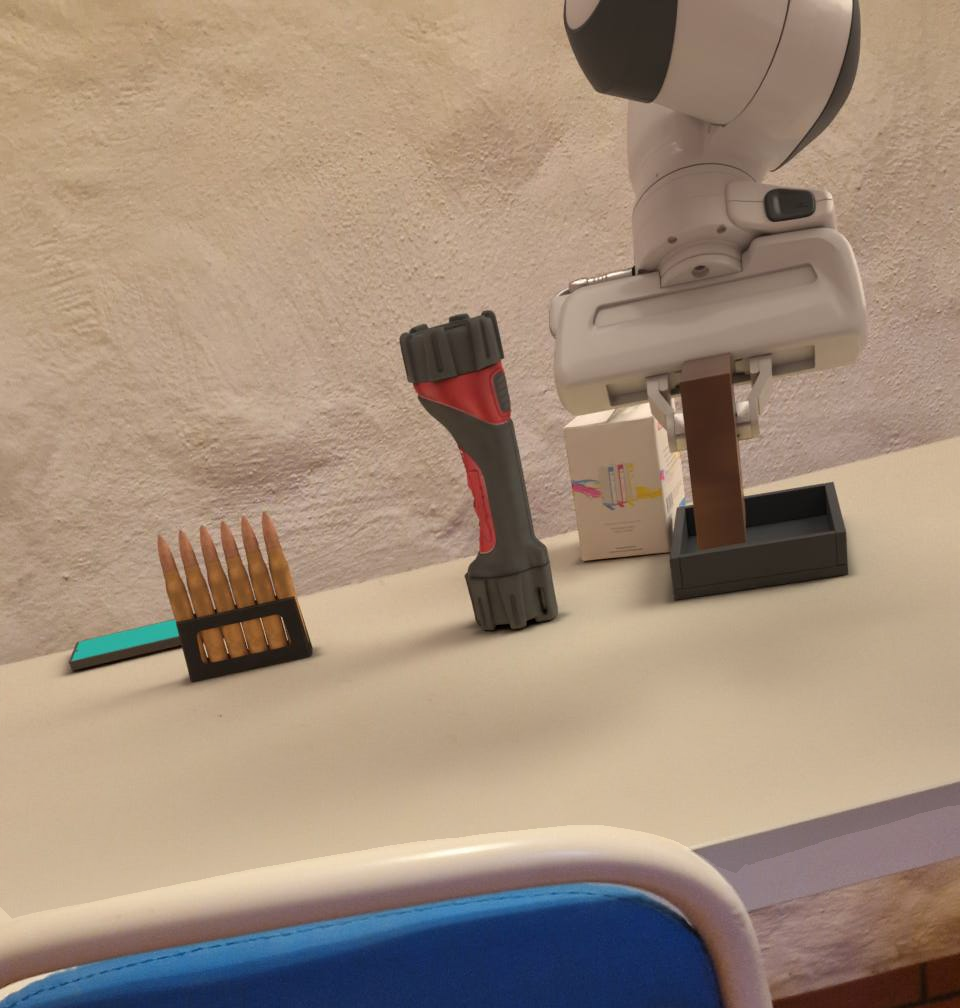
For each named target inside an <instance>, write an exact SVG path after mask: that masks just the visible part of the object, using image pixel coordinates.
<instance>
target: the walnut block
mask: <svg viewBox="0 0 960 1008" xmlns="http://www.w3.org/2000/svg"><path fill="white" fill-rule="evenodd" d="M680 392H681V397H680V400H681V407H682V408H681V409H682V413H683V419H684V428H685V436H686V445H687V450H686V454H687V462H688V463H687V464H688V472H689V478H690V479H689V480H690V488H691V497H692V505H693V507H694V516H695V525H696V534H697V543H698V550H705V549H712V548H718V547H724V546H730V545H736V544H742V543H746V517H745V502H744V496H745V494H744V493H745V492H744V491H745V490H744V482H743V480H744V479H743V472H742V471H743V469H742V461H741V450H740V441H738V434H737V426H736V413H735V403H736V396H735V386H734V385H733V374H732V364H731V354H730V353H726V354H721V355H716V356H711V357H706V358H700V359H695V360H690V361H685V362H683V368H682V373H681V378H680Z"/></svg>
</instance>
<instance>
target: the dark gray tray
mask: <svg viewBox="0 0 960 1008" xmlns="http://www.w3.org/2000/svg"><path fill="white" fill-rule="evenodd" d="M744 502H745V517H746V543H742V544H736V545H730V546H724V547H718V548H712V549H705V550H698V543H697V534H696V525H695V516H694V507H693V504H689V505H686V507H685V506H683V507H677V509H676V516H675V524H674V531H673V538H672V546H671V551H670V552H669V553H670V554H669V567H670V575H671V576H670V577H671V584H672V594H673V600H674V601H678V600H685V599H693V598H698V597H704V596H710V595H711V596H712V595H718V594H724V593H731V592H738V591H744V590H751V589H758V588H764V587H771V586H778V585H784V584H793V583H797V582H804V581H805V582H807V581H812V580H819V579H825V578H831V577H833V578H834V577H839V576H845V575H849V562H848V561H849V559H848V558H849V557H848V542H847V541H848V537H847V530H846V525H845V523H844V518H843V514H842V510H841V506H840V501H839V498H838V494H837V490H836V486H835V482H834V481H828V482H825V483H823V482H822V483H816V484H810V485H804V486H798V487H794V488H793V487H792V488H785V489H780V490H774V491H768V492H763V493H756V494H755V493H754V494H750V495H744Z"/></svg>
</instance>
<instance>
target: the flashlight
mask: <svg viewBox="0 0 960 1008" xmlns="http://www.w3.org/2000/svg"><path fill="white" fill-rule="evenodd" d="M398 341H399V346H400V352H401V356H402V361H403V366H404V370H405V374H406V380H407V382H408V383H410V384H412V387H413V389H414V392H415V393H416V394H417V400H418V402H419V403H420V404H421V407H423V409H424V410H425V411H426V412H427V413H428V414H429V415H430V416H431V417H432V418H433V419H434V420H436V421H437V422H438V423H439V424H440V425H442V426H443V427H444V428H445V429H446V430H447V431H448V433H449V434H450V435H451V437H452V438H453V440H454V441H455V443H456V445H457V448H458V450H459V454H460V456H461V462H462V463H463V466H464V469H465V473H466V482H467V487H468V488H469V490H470V491H471V494H472V497H473V503H472V507H473V509H474V511H475V513H476V516H477V518H478V520H479V521H478V526H479V533H478V534H479V537H478V541H479V547H478V553H477V555H476V557H475V558H474V559H473V560H472V561H471V562H470V563H469V564H468V567H467V572H466V573H464V579H465V583H466V587H467V591H468V594H469V598H470V601H471V602H470V603H471V606H472V610H473V615H474V619H475V623H477V624H478V625H480V627H481V628H482V629H483V630H485V631H495V630H496V629H497V625H509V626H510V628H511V629H512V630H518V629H522V628H525V627H527V622H528V621H530V620H533V619H534V620H535V622H536V623H541V622H547V621H551V620H554V618H556V617H557V616H558V614H559V608H558V607H559V606H558V601H557V597H556V591H555V585H554V578H553V572H552V567H551V566H552V565H551V561H550V556H549V550H548V547H547V546H546V544H544V543H543V542H542V541H541V540H539V539H538V537H536V533H535V528H534V523H533V517H532V513H531V507H530V502H529V496H528V491H527V485H526V480H525V475H524V469H523V465H522V460H521V459H522V458H521V454H520V453H521V452H520V449H519V445H518V439H517V434H516V430H515V424H514V421H513V419H512V418H511V417H512V406H511V405H512V402H511V396H510V394H509V393H510V392H509V386H508V381H507V376H506V373H505V369H504V367H503V363H502V360H503V359H504V360H505V353H504V348H503V344H502V338H501V333H500V328H499V323H498V320H497V316H496V313H495V312H494V311H493V310H489V309H485V310H482V311H481V313H480V314H479V315H476V316H474V317H470V315H469V314H468V313H466V312H463V313H459V314H455V315H450V316H449V317H448V322H446V323H443V324H438V325H434V326H432V327H429V326H428V324H427V323H421V324H418V325H415V326H413V327H411V328H410V329H409V330H408V332H407V331H405V332H403V333H401V334H400V336H399V340H398Z"/></svg>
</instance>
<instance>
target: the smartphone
mask: <svg viewBox="0 0 960 1008" xmlns="http://www.w3.org/2000/svg"><path fill="white" fill-rule="evenodd" d="M220 630H221V633H222V636H223V632H222V629H221V627H220ZM199 633H200V636H201V639H202V641H203V638H202V635H201V631H200V632H199ZM178 646H182V645H181V641H180V637H179V633H178V630H177V626H176V621H175V618H173V619H169V620H164V621H161V622H156V623H152V624H147V625H143V626H139V627H135V628H130V629H126V630H121V631H118V632H113V633H109V634H104V635H101V636H96V637H91V638H88V639H84V640H79V641H77V642H76V643H75V645H74V648H73V650H72V652H71V655H70V658H69V660H68V664H69V667H70V669H71V671H75V670H76V671H77V670H80V669H84V668H89V667H93V666H97V665H101V664H105V663H109V662H114V661H119V660H123V659H127V658H131V657H135V656H141V655H144V654H148V653H152V652H158V651H162V650H166V649H170V648H174V647H178Z"/></svg>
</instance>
